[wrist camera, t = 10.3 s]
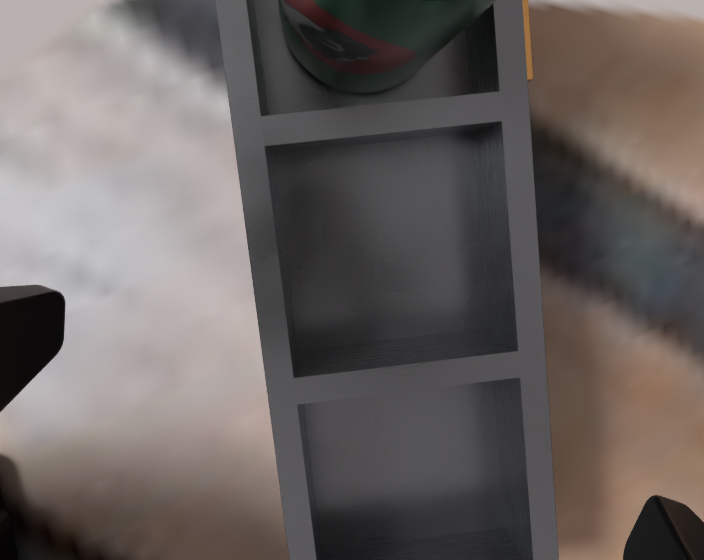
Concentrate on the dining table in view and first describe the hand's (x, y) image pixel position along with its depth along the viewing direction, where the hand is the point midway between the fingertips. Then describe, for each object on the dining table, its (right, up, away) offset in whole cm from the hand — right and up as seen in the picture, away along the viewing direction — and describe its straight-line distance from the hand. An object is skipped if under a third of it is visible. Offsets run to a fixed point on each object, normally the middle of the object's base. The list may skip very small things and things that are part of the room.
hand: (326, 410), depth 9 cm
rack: (+1, +3, +12) cm, 13 cm away
